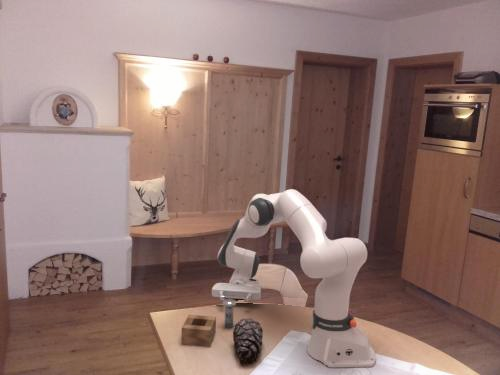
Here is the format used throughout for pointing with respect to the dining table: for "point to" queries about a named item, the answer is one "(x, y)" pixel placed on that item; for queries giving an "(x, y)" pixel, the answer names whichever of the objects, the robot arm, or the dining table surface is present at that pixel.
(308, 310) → the dining table surface
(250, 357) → the pine cone
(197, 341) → the socket block
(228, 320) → the pin
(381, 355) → the dining table surface
